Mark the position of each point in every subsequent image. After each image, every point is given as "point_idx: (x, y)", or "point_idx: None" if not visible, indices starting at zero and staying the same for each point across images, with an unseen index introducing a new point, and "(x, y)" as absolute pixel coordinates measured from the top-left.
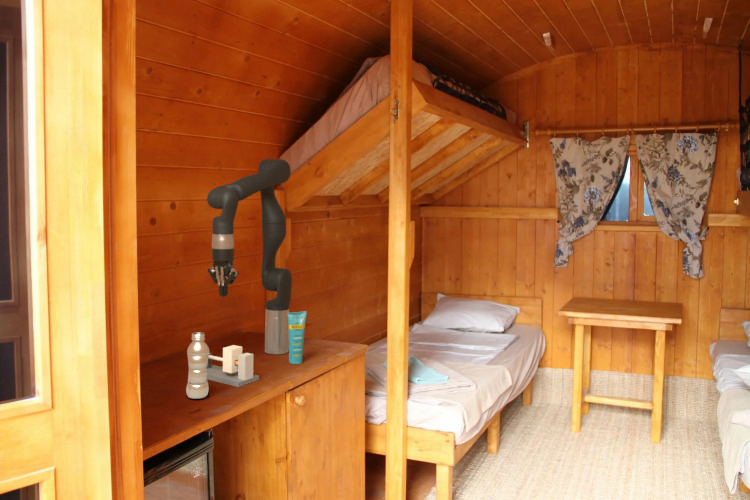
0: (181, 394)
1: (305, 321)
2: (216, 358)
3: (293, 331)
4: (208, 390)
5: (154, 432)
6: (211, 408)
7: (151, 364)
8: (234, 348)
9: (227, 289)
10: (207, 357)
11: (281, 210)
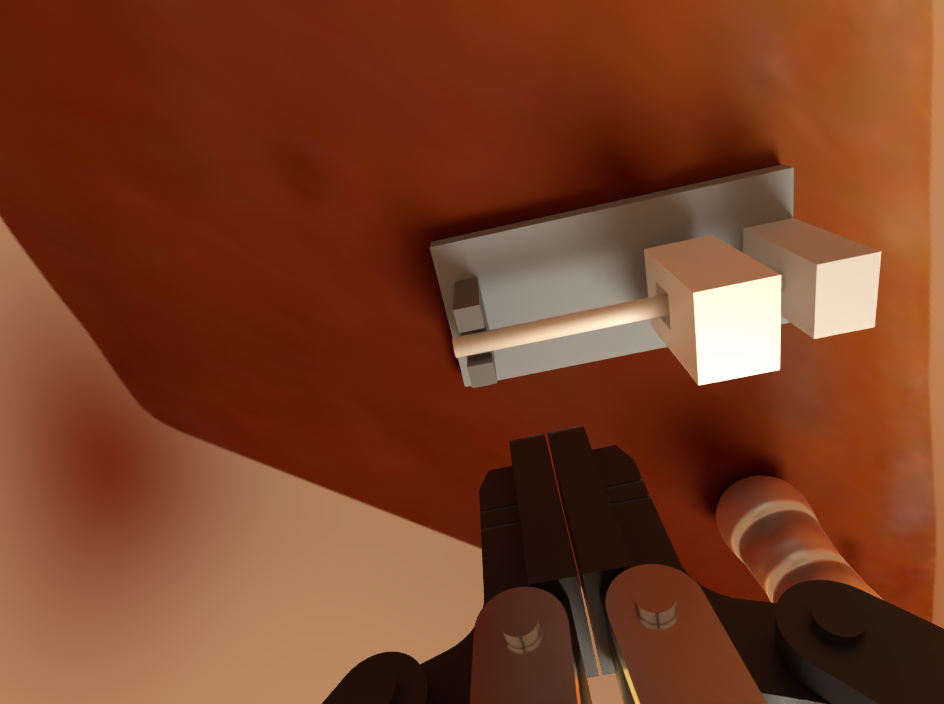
0: (669, 516)
1: None
2: (580, 332)
3: None
4: (798, 491)
5: None
6: (876, 516)
7: (189, 418)
8: (771, 341)
9: (659, 522)
10: None
11: None
